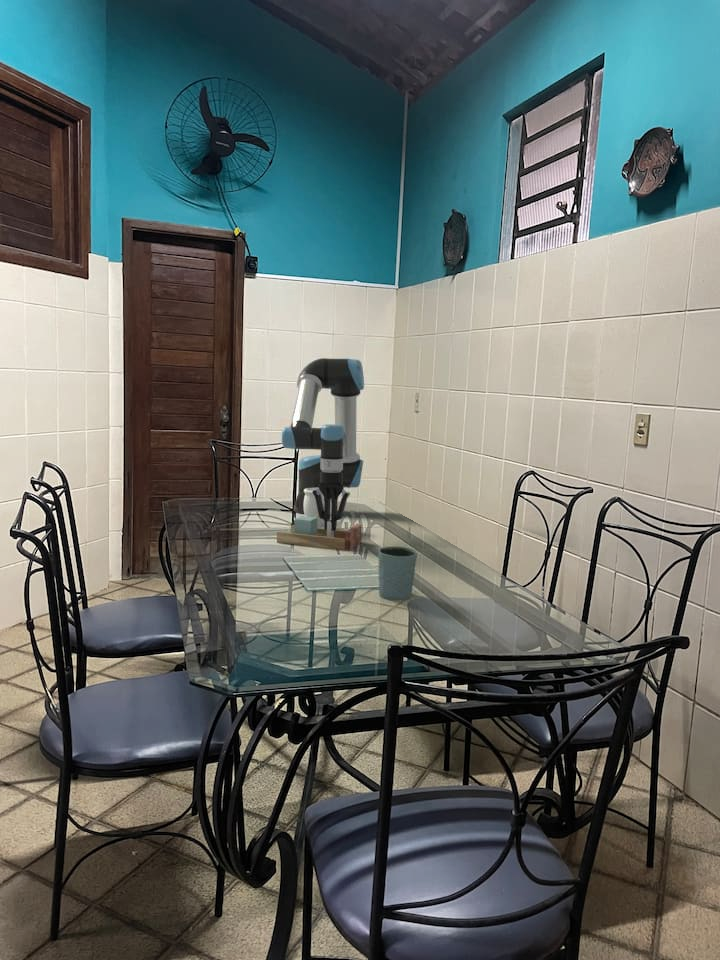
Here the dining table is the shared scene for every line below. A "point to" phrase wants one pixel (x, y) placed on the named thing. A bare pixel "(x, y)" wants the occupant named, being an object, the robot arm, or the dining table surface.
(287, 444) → the robot arm
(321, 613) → the dining table surface
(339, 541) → the trough
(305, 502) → the jar
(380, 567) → the blue-grey cup
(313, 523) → the block
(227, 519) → the dining table surface
